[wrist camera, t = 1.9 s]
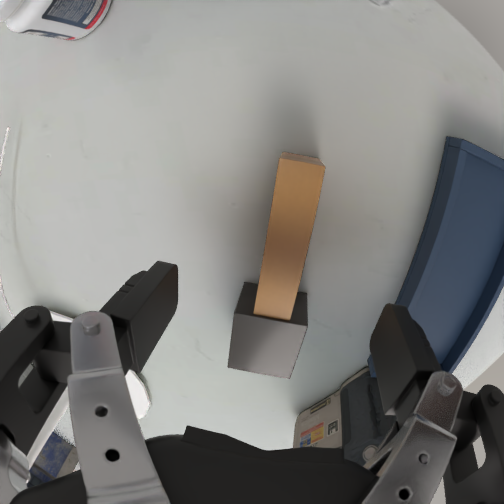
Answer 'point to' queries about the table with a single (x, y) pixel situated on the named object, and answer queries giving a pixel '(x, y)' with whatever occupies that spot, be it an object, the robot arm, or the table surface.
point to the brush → (279, 275)
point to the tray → (458, 253)
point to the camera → (347, 420)
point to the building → (53, 461)
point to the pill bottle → (53, 17)
